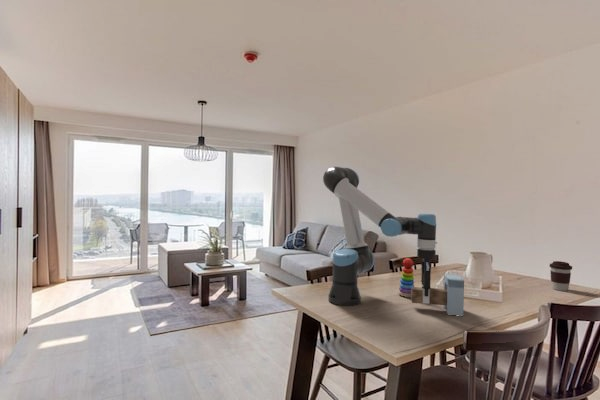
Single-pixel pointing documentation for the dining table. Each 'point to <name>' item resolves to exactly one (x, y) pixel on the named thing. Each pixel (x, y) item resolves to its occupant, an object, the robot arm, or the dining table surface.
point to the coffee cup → (560, 275)
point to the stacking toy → (406, 278)
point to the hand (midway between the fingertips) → (425, 301)
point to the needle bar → (435, 296)
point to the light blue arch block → (454, 294)
